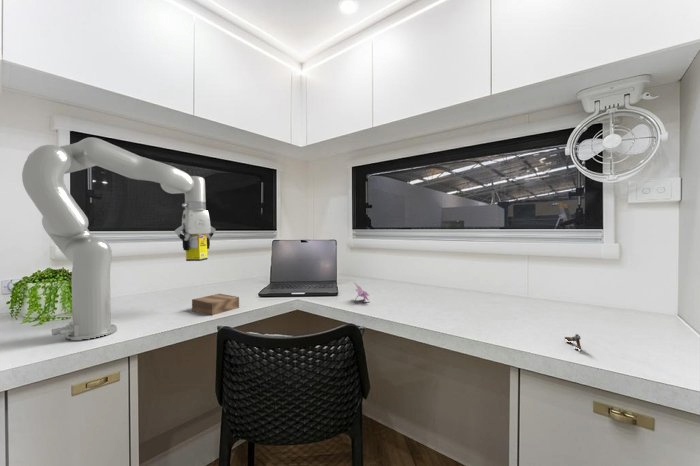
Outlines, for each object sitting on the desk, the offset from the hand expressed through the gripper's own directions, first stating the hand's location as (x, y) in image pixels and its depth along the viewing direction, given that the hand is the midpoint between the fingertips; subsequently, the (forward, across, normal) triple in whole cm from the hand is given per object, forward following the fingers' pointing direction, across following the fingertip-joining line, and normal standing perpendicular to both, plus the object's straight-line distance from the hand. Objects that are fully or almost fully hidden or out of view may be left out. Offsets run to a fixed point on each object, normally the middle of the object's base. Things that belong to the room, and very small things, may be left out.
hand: (196, 249), depth 127 cm
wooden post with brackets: (+27, +41, -128) cm, 137 cm away
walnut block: (+26, +5, -4) cm, 27 cm away
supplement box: (+5, 0, 0) cm, 5 cm away
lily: (+27, +51, -48) cm, 75 cm away
